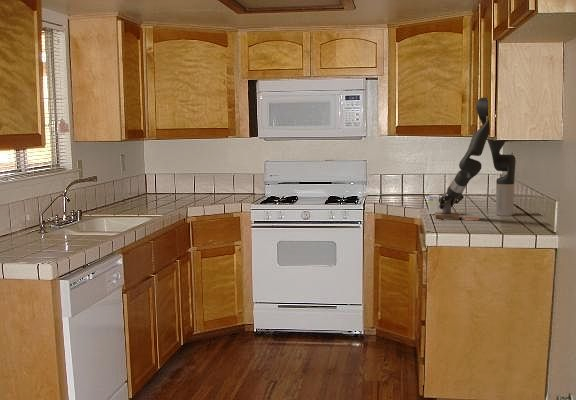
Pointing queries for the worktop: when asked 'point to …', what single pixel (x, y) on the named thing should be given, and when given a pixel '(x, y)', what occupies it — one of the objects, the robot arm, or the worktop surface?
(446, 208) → the plug
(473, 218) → the orange round disc
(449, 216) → the brown wooden square frame
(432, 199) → the light bulb box
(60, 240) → the worktop surface
